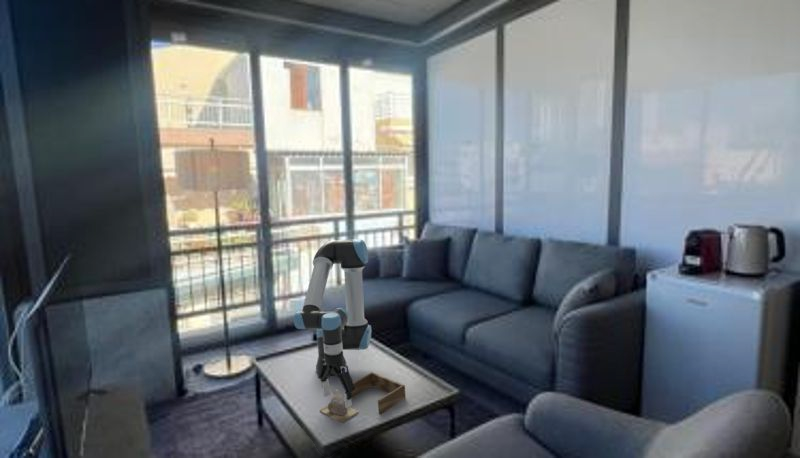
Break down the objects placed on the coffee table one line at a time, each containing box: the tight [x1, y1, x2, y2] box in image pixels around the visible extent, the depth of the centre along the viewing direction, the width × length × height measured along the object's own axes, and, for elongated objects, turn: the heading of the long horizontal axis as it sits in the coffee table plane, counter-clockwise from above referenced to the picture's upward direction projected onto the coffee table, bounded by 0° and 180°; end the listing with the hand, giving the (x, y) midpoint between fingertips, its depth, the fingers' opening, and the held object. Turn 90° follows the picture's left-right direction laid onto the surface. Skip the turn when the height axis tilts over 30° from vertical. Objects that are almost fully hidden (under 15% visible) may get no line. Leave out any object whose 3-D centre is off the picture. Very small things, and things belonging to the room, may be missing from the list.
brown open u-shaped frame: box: [347, 371, 406, 415], centre depth 190 cm, size 20×16×6 cm
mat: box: [319, 405, 360, 424], centre depth 181 cm, size 14×9×1 cm, turn 49°
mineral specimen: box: [327, 388, 347, 415], centre depth 181 cm, size 13×7×6 cm, turn 25°
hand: (337, 400), depth 180 cm, fingers open, 13 cm apart
